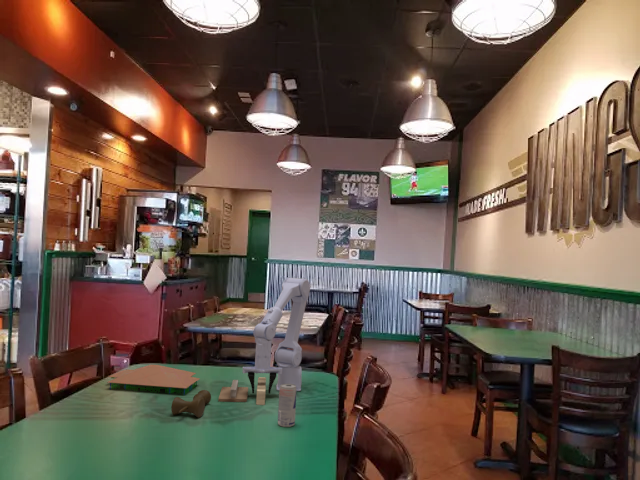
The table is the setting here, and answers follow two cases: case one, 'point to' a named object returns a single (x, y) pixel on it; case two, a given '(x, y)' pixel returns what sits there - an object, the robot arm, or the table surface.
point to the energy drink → (287, 405)
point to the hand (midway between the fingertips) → (261, 392)
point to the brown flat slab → (155, 378)
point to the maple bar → (261, 391)
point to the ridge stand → (233, 393)
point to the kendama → (192, 404)
